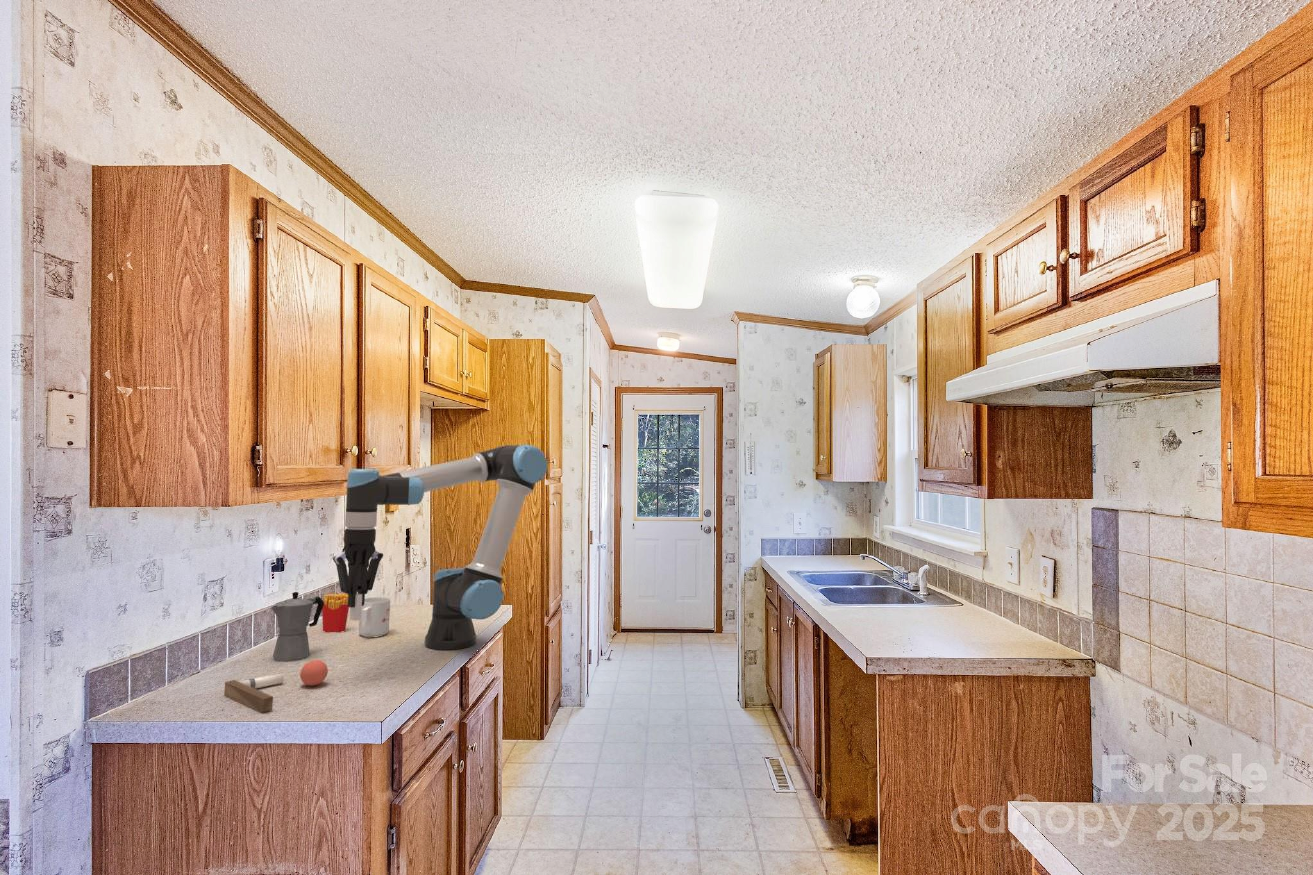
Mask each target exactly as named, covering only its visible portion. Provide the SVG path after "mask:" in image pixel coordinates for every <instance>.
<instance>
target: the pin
mask: <svg viewBox="0 0 1313 875" xmlns="http://www.w3.org/2000/svg"><path fill="white" fill-rule="evenodd" d="M284 681H285V676H284V674H283V672H281V673H276V674H270V675H265V676H260V677H255V678H254V677H253V678H250V679H245V680H242V681H241V683H243V684H245V685H247V686H250V687H252V688H254V689H257V690H258V689H261V688H265V687H270V686H277V685H280V684H283V683H284Z"/></svg>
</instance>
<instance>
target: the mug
mask: <svg viewBox="0 0 1313 875" xmlns="http://www.w3.org/2000/svg"><path fill="white" fill-rule="evenodd" d="M390 613H391V598H390V597H384V596H383V597H382V596H375V597H365V601H364V606H362V609H361V620H358V621H359V622H358V623H359V624H358V634H359V635H360V636H361V635H362V636H365V637H364V638H367V637H374V636H381V635H384V636H386V635H385V634H388V633H389V630H390V617H391V616H390ZM362 636H361V637H362ZM381 637H382V636H381ZM374 638H375V637H374Z"/></svg>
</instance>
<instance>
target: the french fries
mask: <svg viewBox="0 0 1313 875" xmlns="http://www.w3.org/2000/svg"><path fill="white" fill-rule="evenodd" d="M323 601H324V606H323V608H322V611H321V615H322V632H323V631H325V632H324V633H330V632H339V633H343V632H342V631H344V632H345V631H346V627H347V621H348V616H349V611H350V607H348V594H347V593H343V592H339V593H338V594H337V593H334V594H333V593H328V594H324V595H323Z"/></svg>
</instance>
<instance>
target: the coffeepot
mask: <svg viewBox="0 0 1313 875" xmlns="http://www.w3.org/2000/svg"><path fill="white" fill-rule="evenodd" d="M299 594H300V592H298V591H295V592H294V591H293V592H292V594H291V595H292V598H290V599H286V600H282V601H278V602H276V603H275V605H272V606H270V610H272V611H273V613H274V614H275V616H276V618H277V626H278V629H279V632H278V633H279V634H277V637H276V638H277V639H276V642H275V645H274V650H273V654H272V657H273V660H274V661H276V662H294V661H300V660H303V659H306V658H308V657H309V656H311V653H310V643H309V637H308V632H307V627H308V626H309V627H315V626H317V625H318V622H319V619H320V616H321V615H322V608H323V606H324V599H322V598H321V597H320V596H316V597H310V598H309V597H308V598H306V599H305V598H298V597H299ZM316 604H317V606H316V610H315V614H314V615H313V621H312V622H311V623H309V622H310V619H311V615H312V610H313V606H314V605H316Z"/></svg>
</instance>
